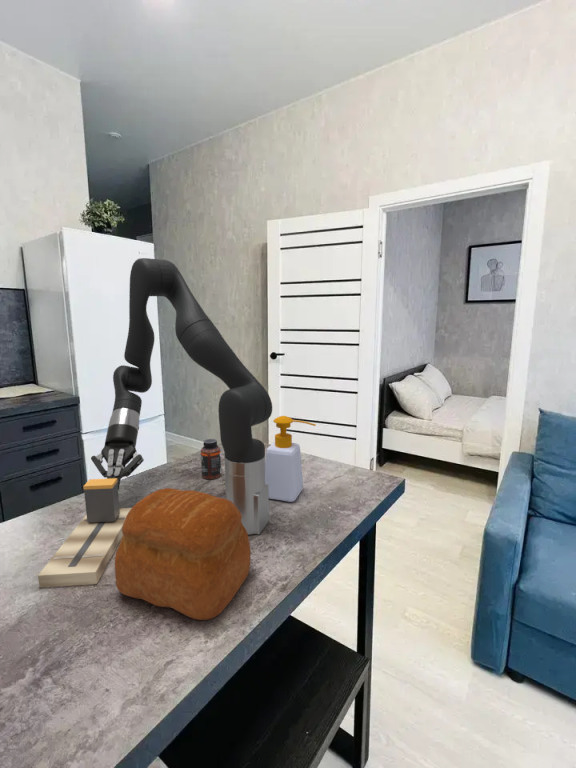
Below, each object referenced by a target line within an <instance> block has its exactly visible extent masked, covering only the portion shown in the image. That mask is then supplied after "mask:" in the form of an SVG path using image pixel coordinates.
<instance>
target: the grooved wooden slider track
mask: <svg viewBox="0 0 576 768" xmlns="http://www.w3.org/2000/svg"><path fill="white" fill-rule="evenodd" d="M119 508H120V507H119ZM131 509H132V507H124V508H120V514H119V516H118V517H117V519H116V521H111V522H91V523H87V514H85V516H84V517H83V518H82V520H80V522H78V524H77V526H76V527H75V528H74V529H73V531H72V532H71V533H70V535H68V536H67V538H66V539H65V540H64V542H63V543H62V544H61V546H60V547H59V549H58V550H57V551H55V553H54V555H53V556H52V557H51V558H50V560H49V561H48V562H47V563H46V565H45V566H44V567H43V569H42V570H41V571H40V572H39V574H38V575H37V578H38V586H39V589H40V588H42V589H45V588H54V587H55V588H56V587H58V588H59V587H73V586H86V585H88V586H90V585H97V584H98V582H99V581H100V579H101V577H102V575H103V574H104V572H105V570H106V569H107V566H108V564H110V563H109V562H110V561H111V559H112V558H113V555H114V553H116V551H117V549H118V547H119V545H120V542H121V540H122V537H123V532H122V527H123V523H124V521H125V519H126V516H127V514H128V512H129V511H130V510H131Z"/></svg>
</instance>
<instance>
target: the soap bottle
mask: <svg viewBox="0 0 576 768" xmlns="http://www.w3.org/2000/svg"><path fill="white" fill-rule="evenodd" d="M273 423H275V427H276V428H278V429H279V431H280V432H278V433H276V434H275V435H274V442H273V443H272V444H271V445H269V446H268V447H267V449H266V450H265V484H267V485H268V486H269V499H271V500H277V501H283V502H289V503H291V502H295V501H296V500H297V498H298V496H299V495H300V494H301V492H302V491H303V489H304V480H303V466H302V454H301V447H300V444H299V443H297V442H296V443H295V442H292V441H293V440H292V439H293V435H292V434H291V433H288V432H287V429H289V428H290V427H291V424H292V423H300V424H301V423H302V424H306V425H310V426H314V427H316V425H317V424H316V423H312V422H310V421H303V420H297V419H293V418H292V417H289V416H287V415H281V416H278V417H275V418H274V419H273Z"/></svg>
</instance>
